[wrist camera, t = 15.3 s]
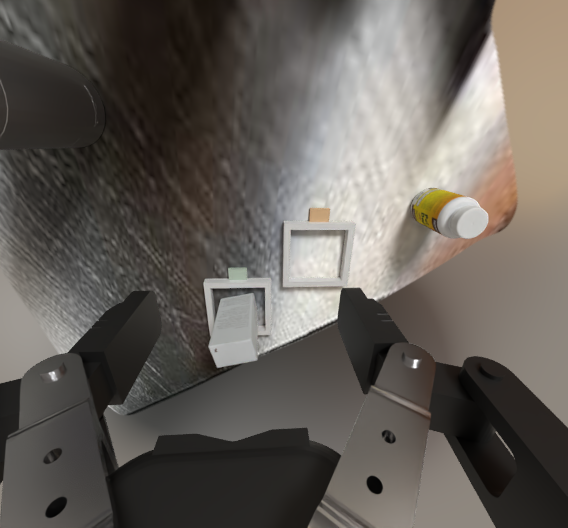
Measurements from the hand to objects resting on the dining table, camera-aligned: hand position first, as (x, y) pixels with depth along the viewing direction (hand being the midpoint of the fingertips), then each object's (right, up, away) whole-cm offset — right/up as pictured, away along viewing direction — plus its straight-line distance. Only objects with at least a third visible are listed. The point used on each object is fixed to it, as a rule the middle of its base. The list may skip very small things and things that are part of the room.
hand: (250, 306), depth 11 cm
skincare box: (-6, -5, +35) cm, 36 cm away
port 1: (-6, -5, +35) cm, 36 cm away
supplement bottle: (+24, +11, +30) cm, 40 cm away
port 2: (+7, +4, +32) cm, 33 cm away
